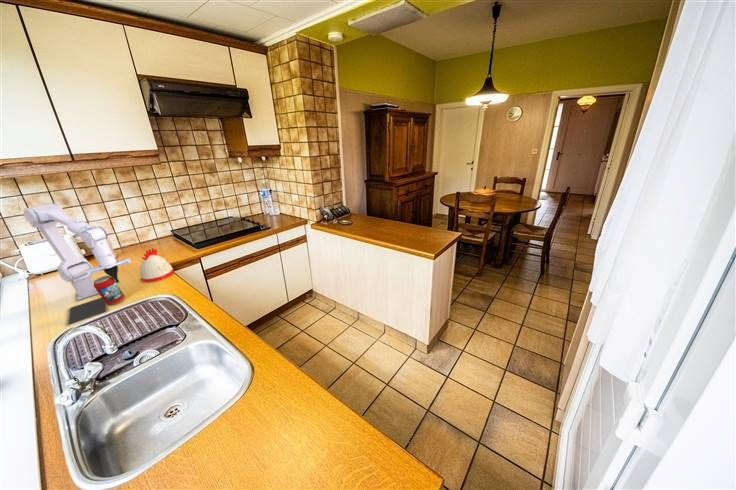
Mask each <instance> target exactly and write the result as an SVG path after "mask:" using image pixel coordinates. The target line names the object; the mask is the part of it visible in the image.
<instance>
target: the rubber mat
mask: <svg viewBox="0 0 736 490" xmlns="http://www.w3.org/2000/svg"><path fill="white" fill-rule="evenodd" d="M102 313H106V303H105V301H104V300H103V299H102V297H100V298H97V299H93V300H89V301H87V302H85V303H84V302H83V303H82V304H78V305H75V306H72V307H70V310H69V318H68V325H71V324H72V325H73V324H74V323H77V322H80V321H83V320H87V319H88V318H92V317H94V316H98V315H100V314H102Z"/></svg>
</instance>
